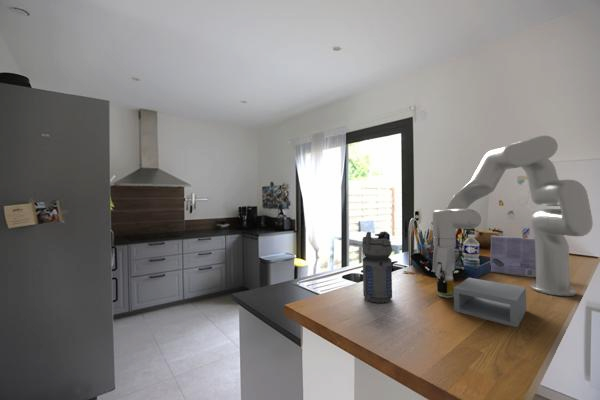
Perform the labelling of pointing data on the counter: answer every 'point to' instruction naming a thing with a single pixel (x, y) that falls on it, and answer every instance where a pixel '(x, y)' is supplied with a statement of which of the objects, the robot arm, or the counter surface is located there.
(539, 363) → the counter surface
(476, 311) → the shelf unit
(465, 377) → the counter surface
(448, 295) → the supplement bottle
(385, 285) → the beverage bottle
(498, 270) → the cake pan box
